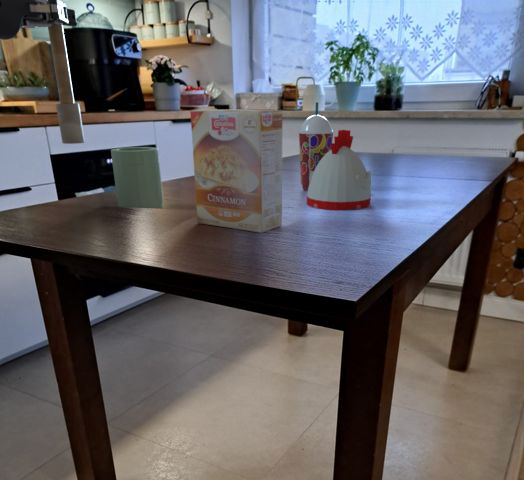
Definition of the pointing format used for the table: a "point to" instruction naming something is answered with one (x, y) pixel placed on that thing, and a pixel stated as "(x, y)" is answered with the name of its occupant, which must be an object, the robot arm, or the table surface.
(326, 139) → the smoothie
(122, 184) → the green canister
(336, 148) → the kitchen timer
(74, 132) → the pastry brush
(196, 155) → the coffeecake box
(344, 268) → the table surface
